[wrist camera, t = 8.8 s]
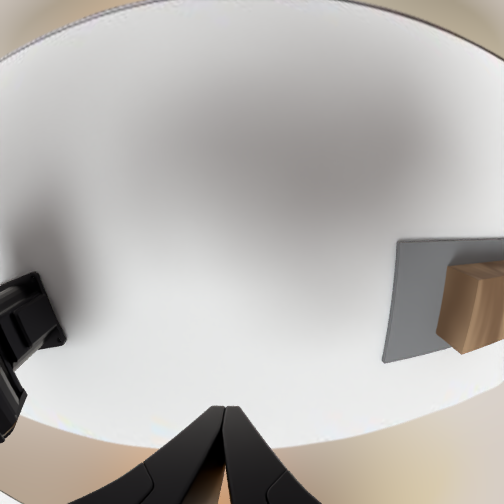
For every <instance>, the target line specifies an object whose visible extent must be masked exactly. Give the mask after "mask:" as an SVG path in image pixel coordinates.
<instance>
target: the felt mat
mask: <svg viewBox="0 0 504 504" xmlns="http://www.w3.org/2000/svg"><path fill="white" fill-rule="evenodd" d="M501 260H504V239H477V240H443V241H412V242H397V252H396V265H395V276H394V286H393V294H392V302H391V310H390V317H389V323H388V329H387V335H386V341H385V347H384V352H383V357H382V361H383V363H389V362H394V361H399V360H403V359H408V358H412V357H416V356H420V355H424V354H428V353H432V352H436V351H439V350H443V349H447V348H450V347H452V346H450V345H449V344H448V343H447V342H446V341H444V340H443V339H442V338H441V337H439V336H438V335H437V334H436V329H437V324H438V319H439V314H440V309H441V304H442V298H443V292H444V286H445V279H446V271H447V266H454V265H464V264H474V263H483V262H492V261H501Z"/></svg>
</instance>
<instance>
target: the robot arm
mask: <svg viewBox="0 0 504 504" xmlns="http://www.w3.org/2000/svg"><path fill="white" fill-rule="evenodd" d="M33 276H34V278H35V280H34V278H33ZM59 338H60V339H61V340H60V339H59ZM65 342H66V338H65V336H64V334H63V332H62V330H61V328H60V325H59V323H58V321H57V319H56V317H55V314H54V312H53V310H52V307H51V305H50V303H49V300H48V298H47V295H46V293H45V290H44V288H43V285H42V282H41V280H40V277H39V275H38V273H37V272H31V273H29V274H26V275H24V276H22V277H19V278H17V279H15V280H12V281H10V282H8V283H6V284H3V285H1V286H0V443H3V442H4V441H5V438H7V437H8V436H9V435H10V434H11V432H12V431H13V429H14V427H15V425H16V422H17V420H18V417H19V414H20V412H21V409H22V407H23V405H24V402H25V400H26V397H27V393H26V391H25V389H24V388H22V386H21V384H20V382H19V380H18V378H17V376H16V375H15V373H14V372H15V371H16V370H17V369H18V368H19V367H20V366H21V365H22V364H23V363H24V362H25V361H26V360H27V359H28V358H29V357H30V356H31V355H32V354H34V353H35V352H36V351H37V350H40V349H46V348H51V347H57V346H62V345H64V344H65ZM143 463H144V464H143ZM143 463H140V464H139V465H137V466H136V467H135V468H133V469H132V470H130V471H129V472H127V473H126V474H125V475H123V476H122V477H120V478H118V479H117V480H115V481H113V482H111V483H109V484H108V485H106V486H104V487H102V488H100V489H98V490H96V491H94V492H92V493H90V494H88V495H86V496H83V497H82V498H79V499H77V500H75V501H72V502H70V503H68V504H218V499H219V495H220V490H221V486H222V481H223V477H224V471H225V466H226V474H227V481H228V489H229V495H230V502H231V504H322V503H321V502H319V501H318V500H317V499H316V498H315V497H314V496H312V495H311V494H310V493H309V492H308V491H307V490H306V489H305V488H304V487H303V486H302V485H301V484H300V483H299V482H298V481H297V480H296V478H295V477H294V476H293V475H292V474H291V473H290V471H288V470H287V468H286V467H285V466H284V465H283V463H282V462H281V461H280V460H279V458H278V457H277V456H276V455H275V453H274V452H273V451H272V449H271V448H270V447H269V446H268V444H267V443H266V442H265V440H264V439H263V438H262V436H261V435H260V434H259V432H258V431H257V430H256V428H255V427H254V426H253V424H252V423H251V422H250V420H249V419H248V417H247V416H246V415H245V413H244V412H243V411H242V409H241V408H240V407H239V406H227V407H226V408H225V407H224V406H211V407H210V408H208V409H207V410H206V411H205V412H204V413H203V414H202V415H200V416H199V417H198V418H197V419H196V420H195V421H193V422H192V423H191V424H190V425H189V426H187V427H186V428H185V429H184V430H183V431H181V432H180V433H179V434H178V435H177V436H175V437H174V438H173V439H172V440H170V441H169V442H168V443H167V444H165V445H164V446H163V447H162V448H160V449H159V450H158V451H157V452H155V453H154V454H153V455H151V456H150V457H149V458H147V459H146V460H145V461H144V462H143Z"/></svg>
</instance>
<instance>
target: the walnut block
mask: <svg viewBox="0 0 504 504" xmlns="http://www.w3.org/2000/svg"><path fill="white" fill-rule="evenodd" d="M436 334H437V335H438V336H439V337H441V338H442V339H443V340H444V341H446V342H447V343H448V344H449V345H450V346H452V347H453V348H454V349H455V350H456V351H458V352H459V353H460V354H461V355H462V354H465V353H468V352H470V351H473V350H476V349H479V348H482V347H484V346H487V345H490V344H492V343H495V342H497V341H500V340H502V339H504V260H501V261H492V262H483V263H474V264H464V265H454V266H447V271H446V279H445V286H444V292H443V298H442V304H441V309H440V314H439V319H438V324H437V329H436Z"/></svg>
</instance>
